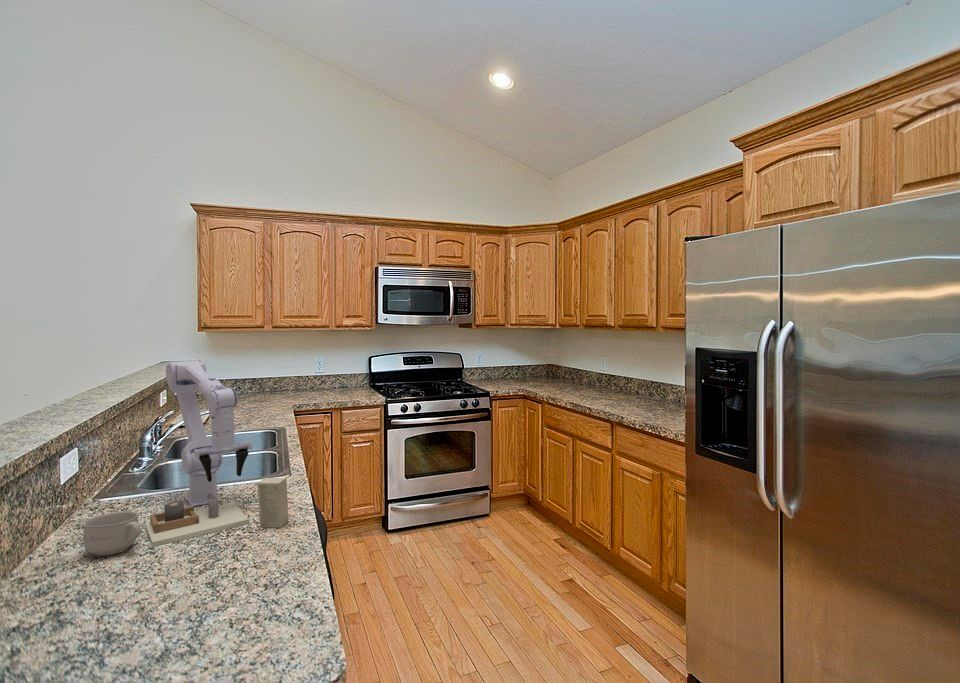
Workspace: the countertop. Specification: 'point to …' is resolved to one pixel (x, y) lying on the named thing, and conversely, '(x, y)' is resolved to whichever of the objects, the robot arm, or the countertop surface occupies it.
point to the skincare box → (273, 502)
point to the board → (195, 522)
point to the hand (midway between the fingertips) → (224, 478)
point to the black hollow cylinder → (174, 511)
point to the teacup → (111, 532)
